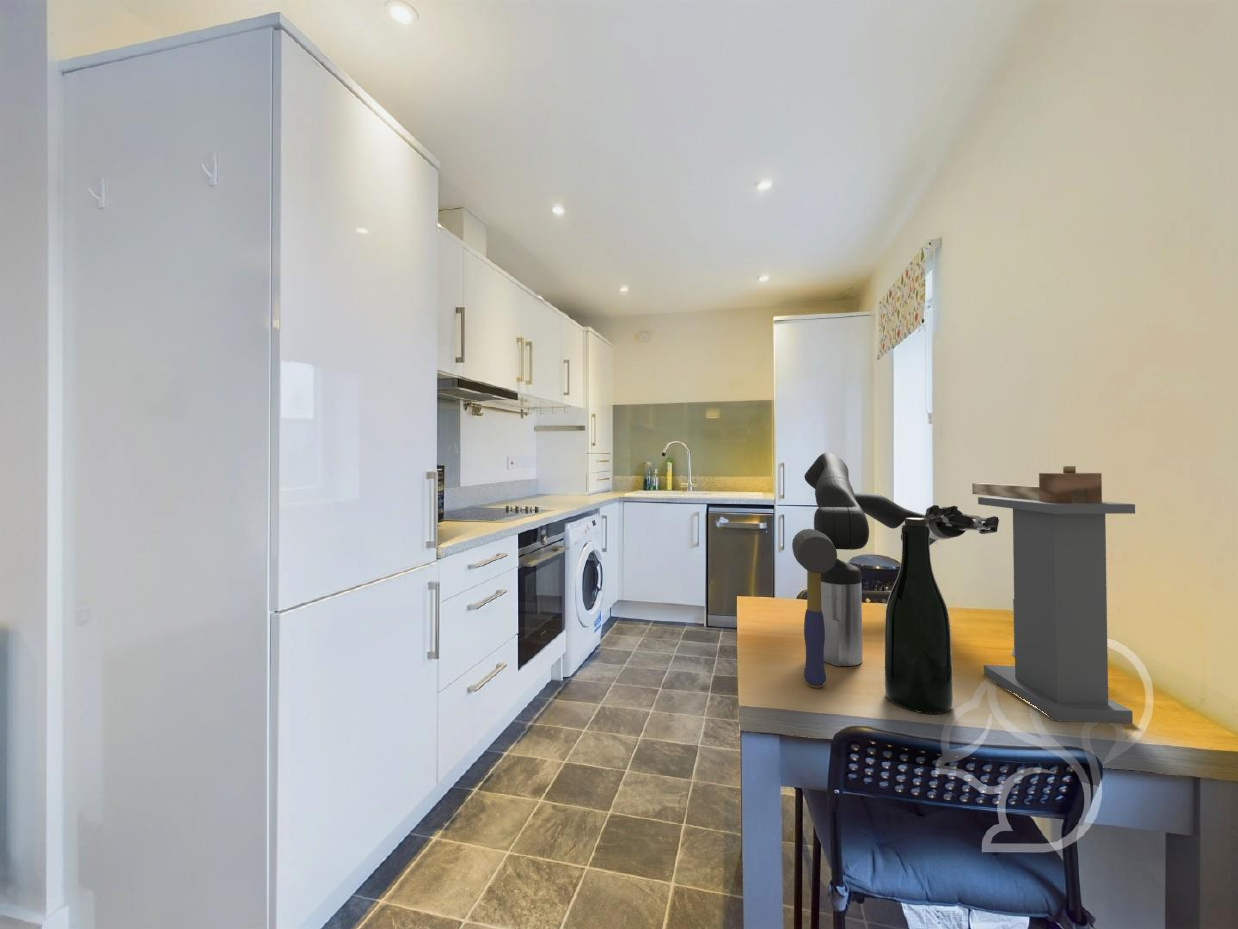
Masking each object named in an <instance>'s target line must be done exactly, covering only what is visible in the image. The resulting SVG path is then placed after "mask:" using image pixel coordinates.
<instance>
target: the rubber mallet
mask: <svg viewBox="0 0 1238 929" xmlns="http://www.w3.org/2000/svg"><path fill="white" fill-rule="evenodd" d="M791 547H792V554H793V557H794V558H795V559H796V561H797V562H798V564H799V566H801V567H803V568H804V569H805V570H806V577H807V578H806V581H807V582H806V584H807V585H806V587H807V588H806V590H807V591H806V597H807V598H806V599H807V600H806V604H807V605H806V606H807V607H806V610H805V612H804V622H803V637H804V645H805V667H804V672H803V678H804V680H805V682H806V683H807V686H809V687H812V688H814V689H815V688H817V689H818V688H819V689H820V688H823V687H824V684H825V683H826V682H827V674H826V671H825V661H824V642H825V626H824V618H823V613H822V609H821V573H824V572H827V571H829V570H830V569H831V568H832V567H834V565H835V563H836V561H837V559H838V552H837V549H836V548H835V546H834V545H833V543H832V541H831V540H830V539H829V538H828V537H827V536H826V535H825V534H823V533H821V532H819V531H817V530H814V528H807V529H805V528H804V529H802V530H800V531H798V532H797V533H796V534H795V535H794V537H793V539H792V544H791Z"/></svg>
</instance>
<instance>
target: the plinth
mask: <svg viewBox="0 0 1238 929" xmlns="http://www.w3.org/2000/svg"><path fill="white" fill-rule="evenodd" d="M977 504H978V505H981V506H989V507H996V508H1004V509H1012V540H1013V541H1012V542H1013V543H1012V546H1013V549H1012V550H1013V552H1012V553H1013V599H1014V624H1013V629H1014V628H1015V657H1014V665H991V664H989V665H987V664H985V665H984V664H983V676H985V677H986V678H987V679H989V680H990V681H992V682H993V681H994V683H995V684H997V685H998V686H999V687H1001V688H1003V687H1004V688H1005V690H1006V689H1007V690H1009V691H1011V692H1012V693H1015V694H1017V695H1018V696H1019V697H1021V698H1022V699H1025V700H1026V701H1028V702H1030V704H1032V705H1034V706H1036V707H1037V708H1038V709H1040V710H1041V711H1043V712H1044V713H1046V714H1047V715H1048V716H1049V717H1050V718H1052V719H1053V720H1061V721H1060V722H1078V721H1083V723H1084V722H1085V723H1086V722H1088V723H1112V724H1113V723H1114V724H1117V723H1118V724H1133V720H1134V718H1133V715H1134V713H1133V710H1131V709H1130V708H1128V707H1126V706H1123V705H1122V704H1120V703H1118V702H1117V701H1114V700H1112V699H1111V698H1109V676H1108V675H1109V673H1108V672H1109V670H1108V669H1109V668H1108V667H1109V666H1108V660H1109V659H1108V657H1109V656H1108V600H1107V599H1108V597H1107V551H1106V550H1107V544H1106V543H1107V542H1106V540H1107V538H1106V537H1107V536H1106V534H1107V533H1106V532H1107V531H1106V530H1107V529H1106V527H1107V526H1106V514H1108V515H1111V514H1112V515H1114V514H1119V515H1120V514H1122V515H1123V514H1125V515H1127V514H1129V515H1130V514H1136V504H1135V503H1123V502H1113V501H1102V503H1051V502H1040V501H1039V500H1032V499H1021V498H1010V497H999V496H978V497H977ZM1004 688H1003V689H1004ZM1007 690H1006V691H1007ZM1009 691H1008V692H1009ZM1012 693H1011V694H1012ZM1049 717H1048V718H1049ZM1050 718H1049V719H1050ZM1052 719H1051V720H1052ZM1053 720H1052V721H1053Z"/></svg>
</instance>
